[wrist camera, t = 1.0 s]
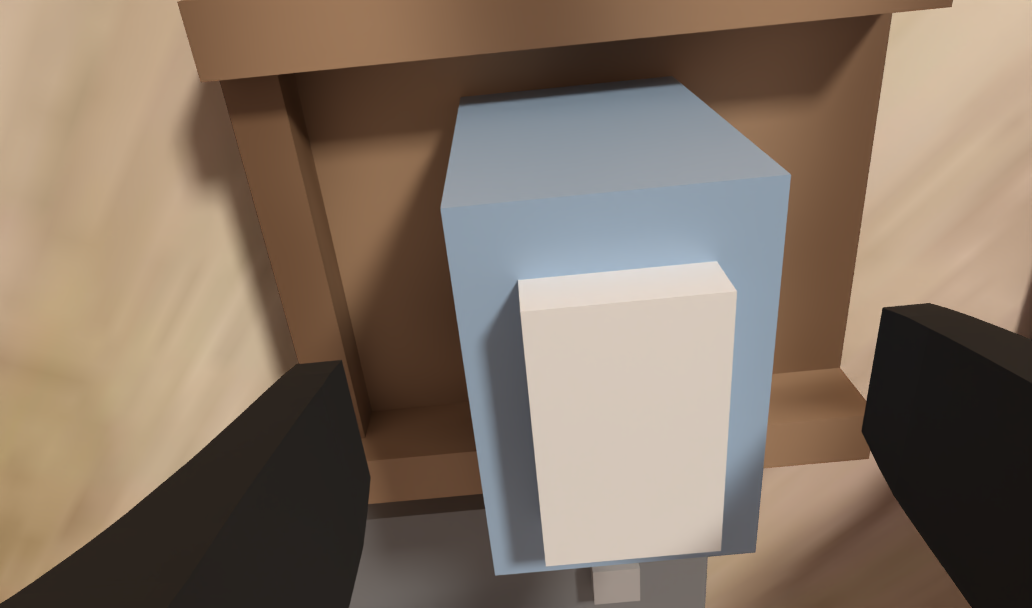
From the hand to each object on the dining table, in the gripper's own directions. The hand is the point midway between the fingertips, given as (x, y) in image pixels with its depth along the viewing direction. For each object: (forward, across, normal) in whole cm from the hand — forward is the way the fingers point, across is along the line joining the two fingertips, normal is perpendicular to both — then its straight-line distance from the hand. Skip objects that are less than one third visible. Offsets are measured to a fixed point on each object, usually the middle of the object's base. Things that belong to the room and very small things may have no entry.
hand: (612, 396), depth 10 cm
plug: (+6, 0, 0) cm, 6 cm away
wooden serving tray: (+7, 0, 0) cm, 7 cm away
